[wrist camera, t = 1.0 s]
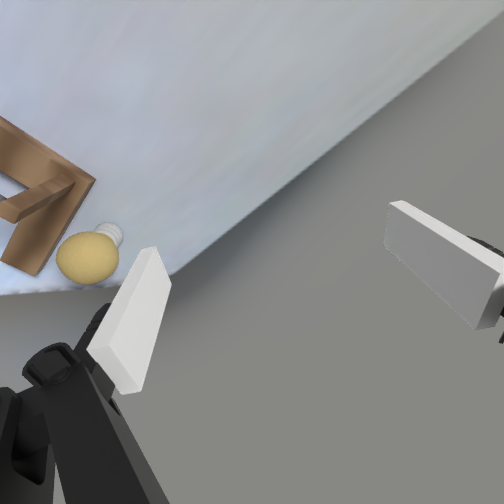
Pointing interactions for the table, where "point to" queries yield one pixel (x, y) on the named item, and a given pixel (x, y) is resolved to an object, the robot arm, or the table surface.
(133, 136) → the table surface
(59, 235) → the wooden rack frame
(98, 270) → the light bulb
